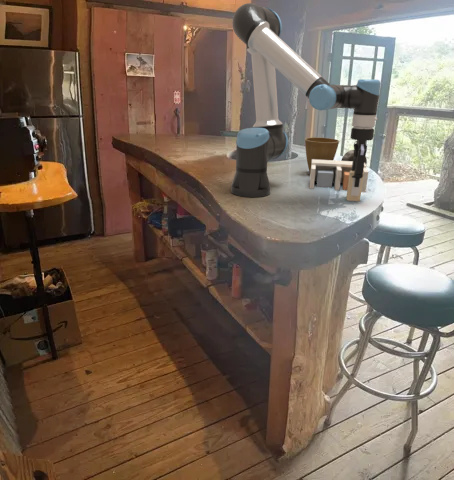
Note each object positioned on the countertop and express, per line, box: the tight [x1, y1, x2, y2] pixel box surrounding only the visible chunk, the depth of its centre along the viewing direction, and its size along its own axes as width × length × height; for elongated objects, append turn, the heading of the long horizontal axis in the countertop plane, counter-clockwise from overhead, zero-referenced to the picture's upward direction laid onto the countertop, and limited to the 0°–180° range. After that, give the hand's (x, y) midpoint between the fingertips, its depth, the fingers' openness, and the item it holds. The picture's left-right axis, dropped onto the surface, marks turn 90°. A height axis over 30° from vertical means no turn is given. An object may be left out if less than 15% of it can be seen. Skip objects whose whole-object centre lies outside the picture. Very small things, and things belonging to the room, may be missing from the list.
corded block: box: [342, 171, 364, 202], centre depth 153 cm, size 6×21×10 cm, turn 167°
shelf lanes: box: [309, 159, 369, 193], centre depth 165 cm, size 22×16×9 cm
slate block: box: [316, 170, 333, 188], centre depth 165 cm, size 6×6×6 cm
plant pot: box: [304, 136, 340, 174], centre depth 182 cm, size 15×15×16 cm
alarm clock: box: [340, 140, 368, 165], centre depth 178 cm, size 11×5×16 cm, turn 104°
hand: (354, 193), depth 146 cm, fingers closed on corded block, 5 cm apart
